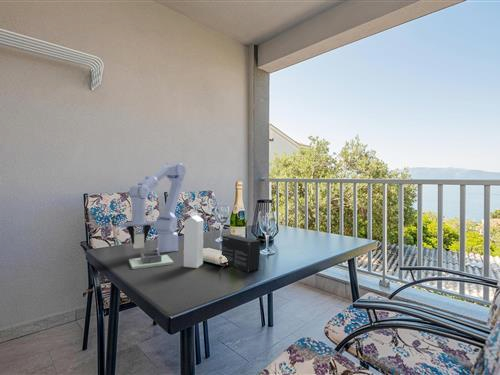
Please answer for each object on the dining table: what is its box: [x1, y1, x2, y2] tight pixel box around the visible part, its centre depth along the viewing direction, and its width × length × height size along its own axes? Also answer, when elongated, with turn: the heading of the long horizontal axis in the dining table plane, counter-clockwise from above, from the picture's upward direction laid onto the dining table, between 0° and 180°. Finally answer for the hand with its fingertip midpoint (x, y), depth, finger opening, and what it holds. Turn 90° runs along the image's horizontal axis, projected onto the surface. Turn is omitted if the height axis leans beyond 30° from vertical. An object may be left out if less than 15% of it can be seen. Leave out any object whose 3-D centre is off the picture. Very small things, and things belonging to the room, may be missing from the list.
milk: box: [183, 211, 205, 269], centre depth 115 cm, size 6×6×22 cm
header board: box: [128, 251, 174, 270], centre depth 118 cm, size 16×12×4 cm
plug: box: [132, 231, 145, 249], centre depth 123 cm, size 4×4×7 cm
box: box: [221, 234, 261, 273], centre depth 116 cm, size 17×7×12 cm, turn 45°
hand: (138, 242), depth 123 cm, fingers closed on plug, 4 cm apart
